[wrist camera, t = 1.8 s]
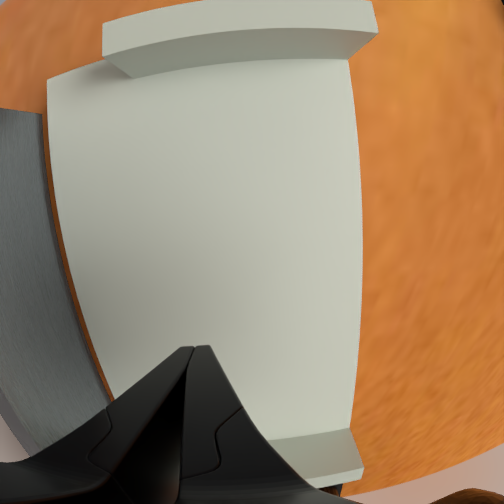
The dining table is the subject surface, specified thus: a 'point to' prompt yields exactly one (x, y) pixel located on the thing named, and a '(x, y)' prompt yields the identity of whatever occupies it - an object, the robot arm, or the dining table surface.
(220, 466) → the robot arm
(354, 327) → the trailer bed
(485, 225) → the dining table surface
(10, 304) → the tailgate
